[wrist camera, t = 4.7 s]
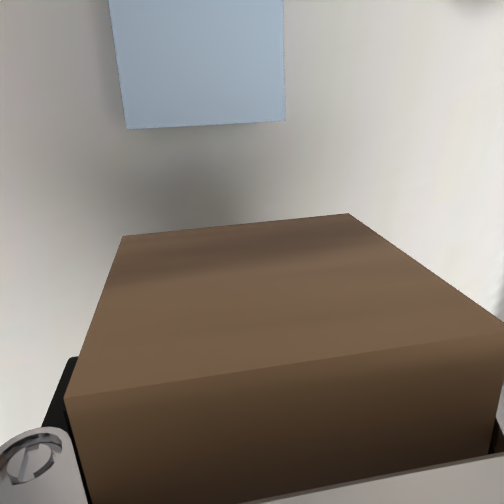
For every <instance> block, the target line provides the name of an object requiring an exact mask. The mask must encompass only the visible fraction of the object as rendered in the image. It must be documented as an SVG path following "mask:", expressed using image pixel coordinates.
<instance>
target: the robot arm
mask: <svg viewBox="0 0 504 504" xmlns="http://www.w3.org/2000/svg"><path fill="white" fill-rule="evenodd" d="M78 357H79V356H77V357H71V358H69V360H68V362H67V364H66V366H65V369H64V371H63V374H62V376H61V379H60V381H59V384H58V386H57V389H56V391H55V394H54V396H53V399H52V401H51V404H50V406H49V408H48V411H47V413H46V416H45V418H44V421H43V423H42V426H41V428H36V429H32V430H29V431H26V432H24V433H21V434H19V435H17V436H15V437H13V438H12V439H10V440H9V441H7V442H6V443H5V444H3V445H2V446H0V504H92V500H91V497H90V493H89V489H88V486H87V482H86V479H85V475H84V471H83V468H82V464H81V460H80V457H79V453H78V449H77V446H76V442H75V439H74V435H73V431H72V428H71V424H70V420H69V417H68V413H67V410H66V406H65V402H64V399H63V398H64V395H65V392H66V390H67V387H68V384H69V382H70V379H71V376H72V373H73V371H74V368H75V365H76V362H77V360H78ZM239 504H504V381H503V385H502V390H501V394H500V399H499V404H498V408H497V413H496V418H495V422H494V427H493V432H492V436H491V441H490V445H489V450H488V455H484V456H479V457H474V458H469V459H463V460H458V461H453V462H448V463H442V464H437V465H432V466H427V467H421V468H416V469H411V470H406V471H401V472H396V473H390V474H385V475H380V476H375V477H370V478H365V479H360V480H355V481H350V482H345V483H339V484H334V485H329V486H324V487H319V488H314V489H309V490H304V491H299V492H294V493H289V494H284V495H279V496H274V497H269V498H264V499H259V500H254V501H249V502H244V503H239Z"/></svg>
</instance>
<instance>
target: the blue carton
mask: <svg viewBox="0 0 504 504" xmlns="http://www.w3.org/2000/svg"><path fill="white" fill-rule="evenodd" d="M108 3H109V10H110V17H111V24H112V31H113V38H114V45H115V52H116V59H117V66H118V74H119V81H120V88H121V95H122V102H123V109H124V116H125V123H126V129H145V128H163V127H182V126H200V125H219V124H237V123H256V122H274V121H285V92H284V33H283V0H108Z"/></svg>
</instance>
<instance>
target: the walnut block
mask: <svg viewBox="0 0 504 504" xmlns="http://www.w3.org/2000/svg"><path fill="white" fill-rule="evenodd" d="M503 381H504V322H502V321H501V320H500V319H498V318H497V317H495V316H494V315H493V314H491V313H490V312H488V311H487V310H485V309H484V308H483V307H481V306H480V305H478V304H477V303H475V302H474V301H473V300H471V299H470V298H468V297H467V296H465V295H464V294H463V293H461V292H460V291H458V290H457V289H456V288H454V287H453V286H451V285H450V284H448V283H447V282H446V281H444V280H443V279H441V278H440V277H438V276H437V275H436V274H434V273H433V272H431V271H430V270H428V269H427V268H426V267H424V266H423V265H421V264H420V263H419V262H417V261H416V260H414V259H413V258H411V257H410V256H409V255H407V254H406V253H404V252H403V251H401V250H400V249H399V248H397V247H396V246H394V245H393V244H391V243H390V242H389V241H387V240H386V239H384V238H383V237H382V236H380V235H379V234H377V233H376V232H374V231H373V230H372V229H370V228H369V227H367V226H366V225H364V224H363V223H362V222H360V221H359V220H357V219H356V218H354V217H353V216H352V215H350V214H349V213H347V214H337V215H327V216H317V217H307V218H298V219H288V220H278V221H268V222H258V223H248V224H238V225H228V226H218V227H208V228H198V229H189V230H179V231H169V232H159V233H149V234H139V235H129V236H123V237H122V239H121V242H120V245H119V248H118V250H117V253H116V256H115V259H114V261H113V264H112V267H111V270H110V272H109V275H108V278H107V280H106V283H105V286H104V289H103V291H102V294H101V297H100V300H99V302H98V305H97V308H96V311H95V313H94V316H93V319H92V321H91V324H90V327H89V330H88V332H87V335H86V338H85V341H84V343H83V346H82V349H81V351H80V354H79V357H78V360H77V362H76V365H75V368H74V371H73V373H72V376H71V379H70V382H69V384H68V387H67V390H66V392H65V395H64V398H63V399H64V402H65V406H66V410H67V413H68V417H69V420H70V424H71V428H72V431H73V435H74V439H75V442H76V446H77V449H78V453H79V457H80V460H81V464H82V468H83V471H84V475H85V479H86V482H87V486H88V489H89V493H90V497H91V500H92V504H239V503H244V502H249V501H254V500H259V499H264V498H269V497H274V496H279V495H284V494H289V493H294V492H299V491H304V490H309V489H314V488H319V487H324V486H329V485H334V484H339V483H345V482H350V481H355V480H360V479H365V478H370V477H375V476H380V475H385V474H390V473H396V472H401V471H406V470H411V469H416V468H421V467H427V466H432V465H437V464H442V463H448V462H453V461H458V460H463V459H469V458H474V457H479V456H484V455H488V450H489V445H490V441H491V436H492V432H493V427H494V422H495V418H496V413H497V408H498V404H499V399H500V394H501V390H502V385H503Z"/></svg>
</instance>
